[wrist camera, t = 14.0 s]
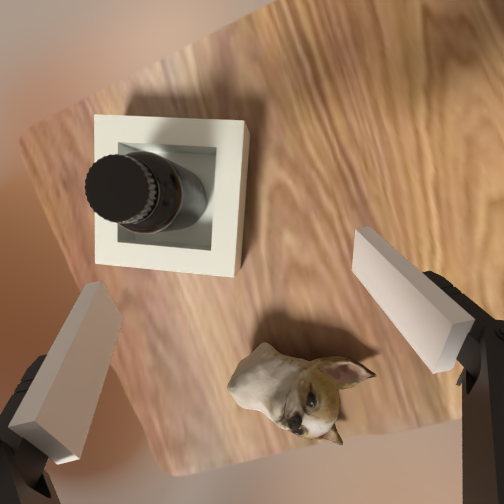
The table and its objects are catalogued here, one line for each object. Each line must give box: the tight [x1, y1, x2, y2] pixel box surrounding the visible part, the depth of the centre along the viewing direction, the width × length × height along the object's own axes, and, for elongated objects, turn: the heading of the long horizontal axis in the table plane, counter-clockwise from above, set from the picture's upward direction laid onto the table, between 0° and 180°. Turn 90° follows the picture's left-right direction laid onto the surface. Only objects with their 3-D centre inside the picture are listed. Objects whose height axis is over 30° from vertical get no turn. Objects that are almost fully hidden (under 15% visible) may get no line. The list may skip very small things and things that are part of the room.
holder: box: [94, 114, 250, 277], centre depth 30 cm, size 15×15×4 cm
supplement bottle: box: [85, 151, 206, 234], centre depth 25 cm, size 7×7×12 cm
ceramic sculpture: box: [227, 342, 377, 445], centre depth 29 cm, size 11×9×15 cm
